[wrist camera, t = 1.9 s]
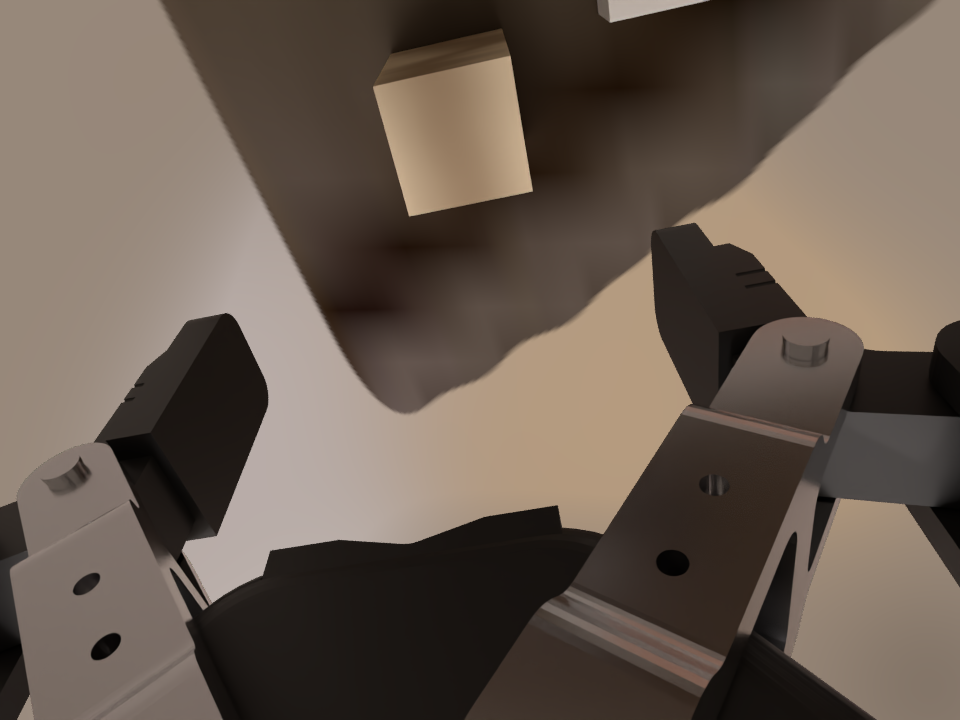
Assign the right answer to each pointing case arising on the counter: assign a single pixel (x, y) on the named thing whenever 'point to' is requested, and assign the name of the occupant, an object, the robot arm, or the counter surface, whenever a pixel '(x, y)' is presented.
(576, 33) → the counter surface
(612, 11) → the white base board
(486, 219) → the counter surface
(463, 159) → the maple block
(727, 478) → the robot arm
